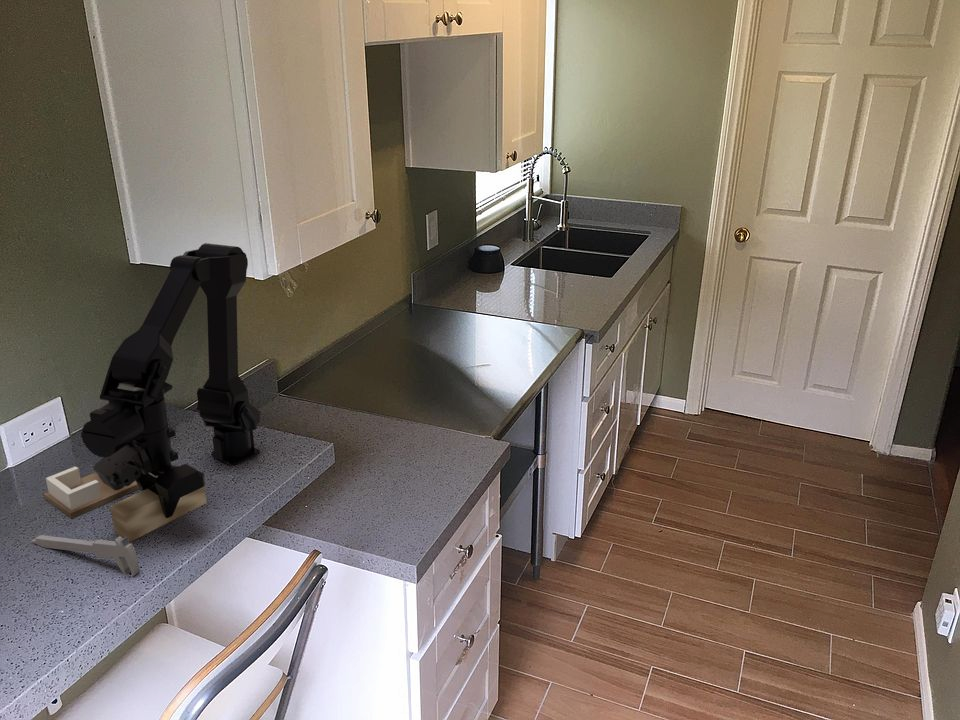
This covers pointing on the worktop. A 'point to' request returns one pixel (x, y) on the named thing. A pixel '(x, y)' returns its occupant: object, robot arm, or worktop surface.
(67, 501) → the end caps
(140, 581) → the worktop surface
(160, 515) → the maple slat
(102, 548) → the caliper
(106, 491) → the walnut board
